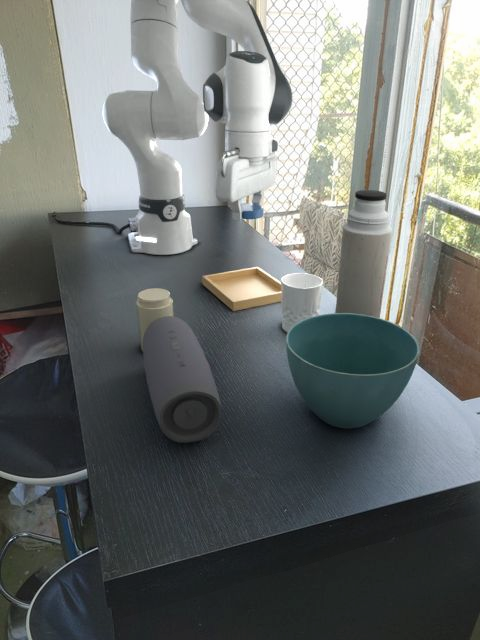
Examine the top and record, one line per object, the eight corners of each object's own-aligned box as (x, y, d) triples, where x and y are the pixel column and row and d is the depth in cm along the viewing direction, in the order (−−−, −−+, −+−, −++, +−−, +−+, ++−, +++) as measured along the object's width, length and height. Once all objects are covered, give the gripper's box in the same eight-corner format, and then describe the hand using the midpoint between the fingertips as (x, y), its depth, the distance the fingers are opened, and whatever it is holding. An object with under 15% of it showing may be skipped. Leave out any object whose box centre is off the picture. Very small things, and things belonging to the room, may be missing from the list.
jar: (135, 344, 96) (130, 291, 91) (166, 336, 99) (162, 284, 94) (149, 358, 91) (144, 304, 86) (181, 349, 94) (178, 296, 89)
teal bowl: (319, 465, 68) (327, 386, 62) (263, 393, 82) (265, 323, 76) (431, 433, 74) (448, 358, 68) (361, 371, 89) (369, 305, 83)
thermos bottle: (375, 339, 99) (396, 188, 86) (375, 359, 92) (397, 199, 79) (333, 334, 101) (347, 185, 87) (330, 354, 94) (344, 195, 80)
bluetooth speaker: (227, 444, 71) (226, 382, 66) (158, 456, 69) (152, 392, 64) (197, 362, 90) (195, 310, 85) (142, 369, 88) (137, 316, 83)
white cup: (323, 322, 105) (327, 276, 100) (313, 340, 98) (317, 290, 94) (285, 316, 107) (287, 270, 102) (274, 333, 101) (275, 284, 96)
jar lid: (267, 218, 108) (268, 210, 107) (236, 220, 106) (237, 211, 105) (257, 210, 114) (257, 202, 113) (228, 212, 112) (227, 204, 111)
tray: (202, 284, 122) (202, 275, 121) (257, 274, 128) (258, 266, 127) (233, 311, 109) (233, 302, 108) (293, 299, 115) (293, 290, 114)
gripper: (236, 153, 94) (236, 229, 101) (282, 141, 110) (280, 207, 117) (206, 150, 96) (208, 225, 103) (256, 139, 113) (255, 204, 119)
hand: (247, 215), depth 110 cm, fingers closed on jar lid, 6 cm apart
